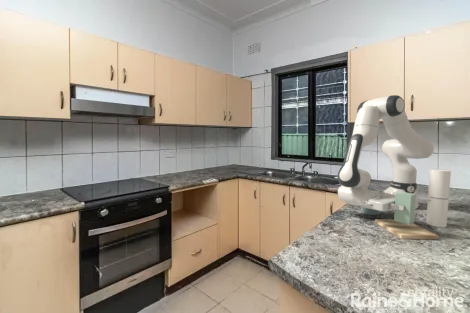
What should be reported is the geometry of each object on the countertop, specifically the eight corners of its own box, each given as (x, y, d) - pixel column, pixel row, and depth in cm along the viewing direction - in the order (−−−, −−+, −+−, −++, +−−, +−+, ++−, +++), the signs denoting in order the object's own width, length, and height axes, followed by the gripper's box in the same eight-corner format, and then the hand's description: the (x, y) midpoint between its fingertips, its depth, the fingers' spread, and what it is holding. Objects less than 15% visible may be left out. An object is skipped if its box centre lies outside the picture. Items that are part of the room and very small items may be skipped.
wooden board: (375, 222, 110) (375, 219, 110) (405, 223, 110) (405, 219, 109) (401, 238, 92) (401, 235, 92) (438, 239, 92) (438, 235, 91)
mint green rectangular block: (394, 220, 101) (395, 193, 100) (399, 218, 104) (401, 191, 103) (409, 224, 97) (411, 195, 96) (414, 222, 100) (416, 194, 99)
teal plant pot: (375, 210, 129) (377, 188, 128) (385, 216, 119) (387, 192, 118) (356, 209, 130) (357, 187, 129) (364, 215, 120) (365, 192, 119)
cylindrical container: (438, 227, 104) (443, 171, 102) (422, 222, 111) (425, 169, 109) (450, 226, 106) (455, 170, 104) (433, 221, 113) (437, 168, 111)
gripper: (361, 196, 104) (397, 203, 93) (382, 190, 116) (416, 196, 105) (361, 210, 105) (396, 218, 93) (382, 203, 116) (415, 210, 105)
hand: (407, 206), depth 99 cm, fingers closed on mint green rectangular block, 5 cm apart
